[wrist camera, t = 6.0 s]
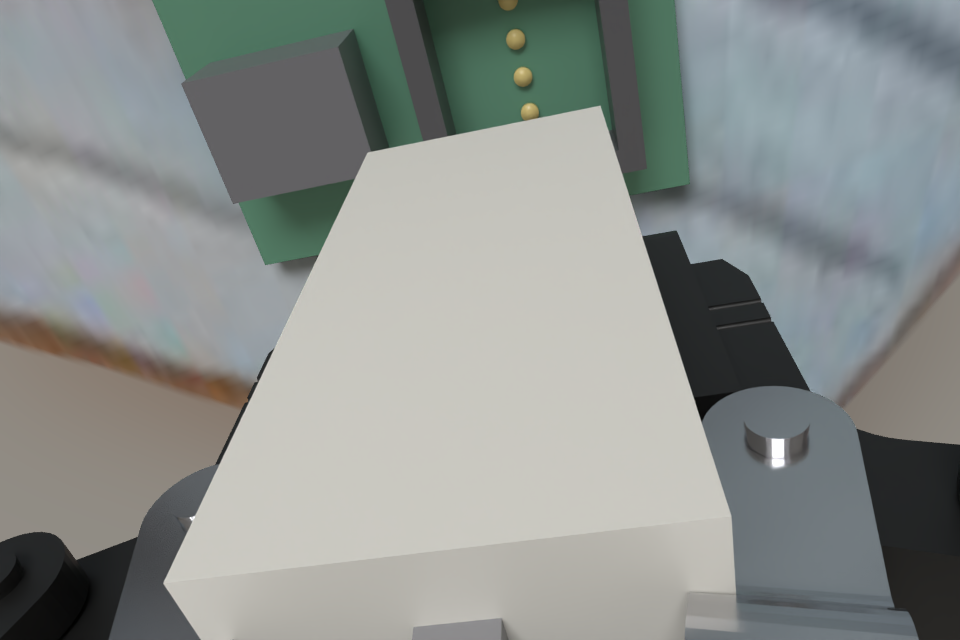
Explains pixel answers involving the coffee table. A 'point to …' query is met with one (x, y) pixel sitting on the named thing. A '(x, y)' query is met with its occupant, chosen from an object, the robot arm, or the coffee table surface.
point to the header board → (411, 90)
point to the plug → (468, 418)
